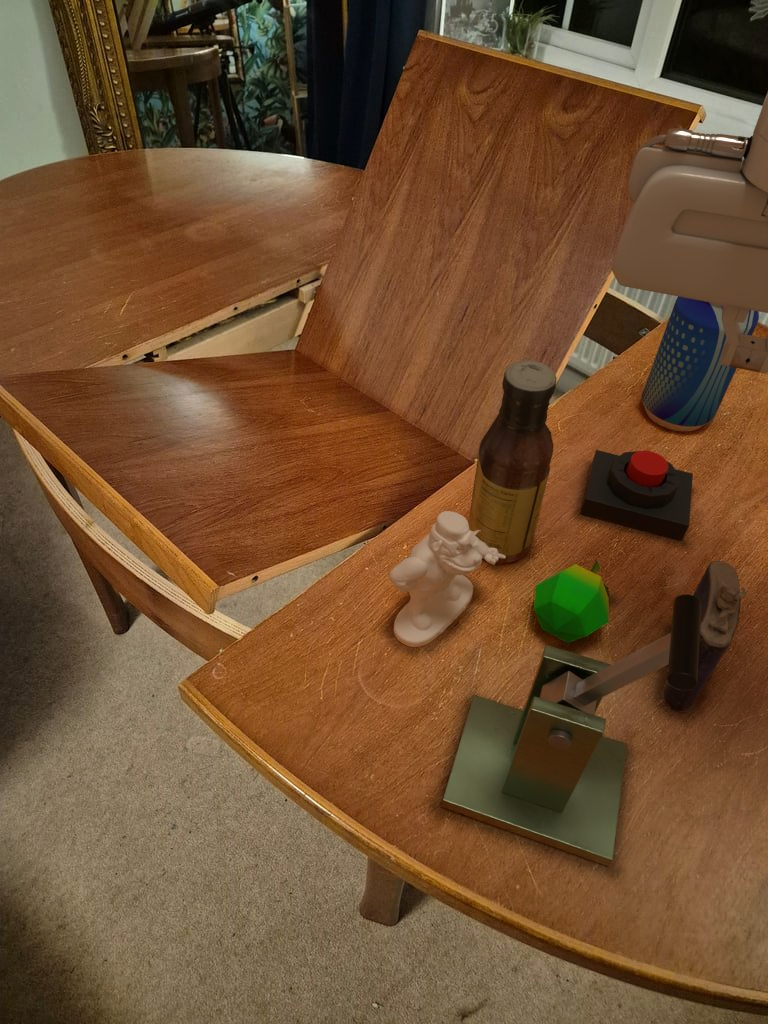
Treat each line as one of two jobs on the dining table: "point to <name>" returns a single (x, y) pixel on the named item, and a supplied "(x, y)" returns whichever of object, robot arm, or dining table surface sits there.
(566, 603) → the apple
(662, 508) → the control block
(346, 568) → the dining table surface
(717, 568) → the eggplant half
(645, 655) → the lever
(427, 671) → the dining table surface
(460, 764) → the bracket
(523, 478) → the sauce bottle
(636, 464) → the button
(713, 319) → the beer can
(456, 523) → the figurine
